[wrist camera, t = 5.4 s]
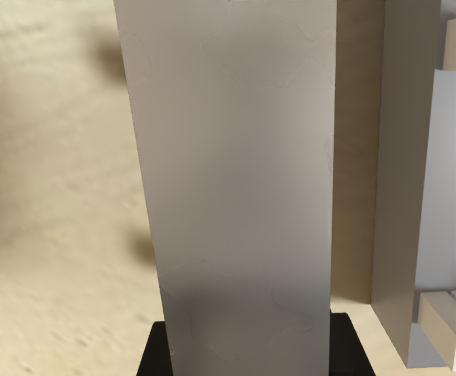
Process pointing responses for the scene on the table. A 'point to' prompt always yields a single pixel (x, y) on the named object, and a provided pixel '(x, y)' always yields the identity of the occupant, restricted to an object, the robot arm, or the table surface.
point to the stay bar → (237, 176)
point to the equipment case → (417, 184)
